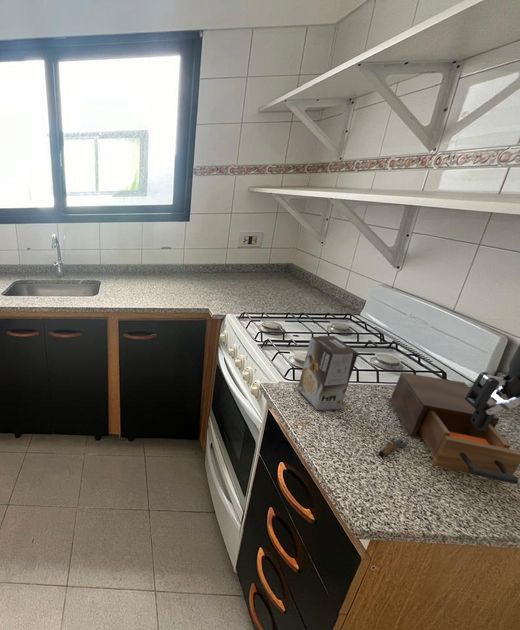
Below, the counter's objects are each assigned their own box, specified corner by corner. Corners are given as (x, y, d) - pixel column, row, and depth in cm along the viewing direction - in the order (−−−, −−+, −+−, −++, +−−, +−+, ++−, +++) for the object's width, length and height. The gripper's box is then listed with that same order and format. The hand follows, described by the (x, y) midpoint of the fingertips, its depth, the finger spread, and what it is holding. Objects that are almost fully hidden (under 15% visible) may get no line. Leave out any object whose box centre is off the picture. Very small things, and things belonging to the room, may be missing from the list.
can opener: (383, 458, 71) (385, 453, 71) (371, 450, 73) (373, 445, 73) (410, 445, 74) (412, 441, 74) (398, 438, 76) (400, 434, 76)
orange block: (478, 451, 70) (485, 439, 69) (487, 464, 67) (495, 451, 66) (434, 442, 72) (440, 430, 71) (442, 454, 69) (448, 441, 68)
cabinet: (481, 451, 73) (499, 419, 69) (410, 436, 77) (424, 404, 73) (450, 411, 84) (464, 382, 81) (389, 400, 88) (401, 372, 85)
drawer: (525, 505, 60) (545, 476, 58) (445, 485, 64) (460, 458, 61) (471, 437, 75) (485, 412, 72) (409, 425, 79) (420, 401, 76)
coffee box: (341, 409, 85) (360, 353, 79) (316, 410, 85) (333, 354, 79) (318, 387, 94) (334, 335, 87) (295, 388, 94) (309, 335, 87)
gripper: (519, 355, 51) (472, 440, 57) (650, 369, 47) (584, 457, 54) (482, 333, 57) (444, 411, 64) (595, 343, 54) (542, 425, 60)
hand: (508, 432), depth 59 cm, fingers open, 8 cm apart
